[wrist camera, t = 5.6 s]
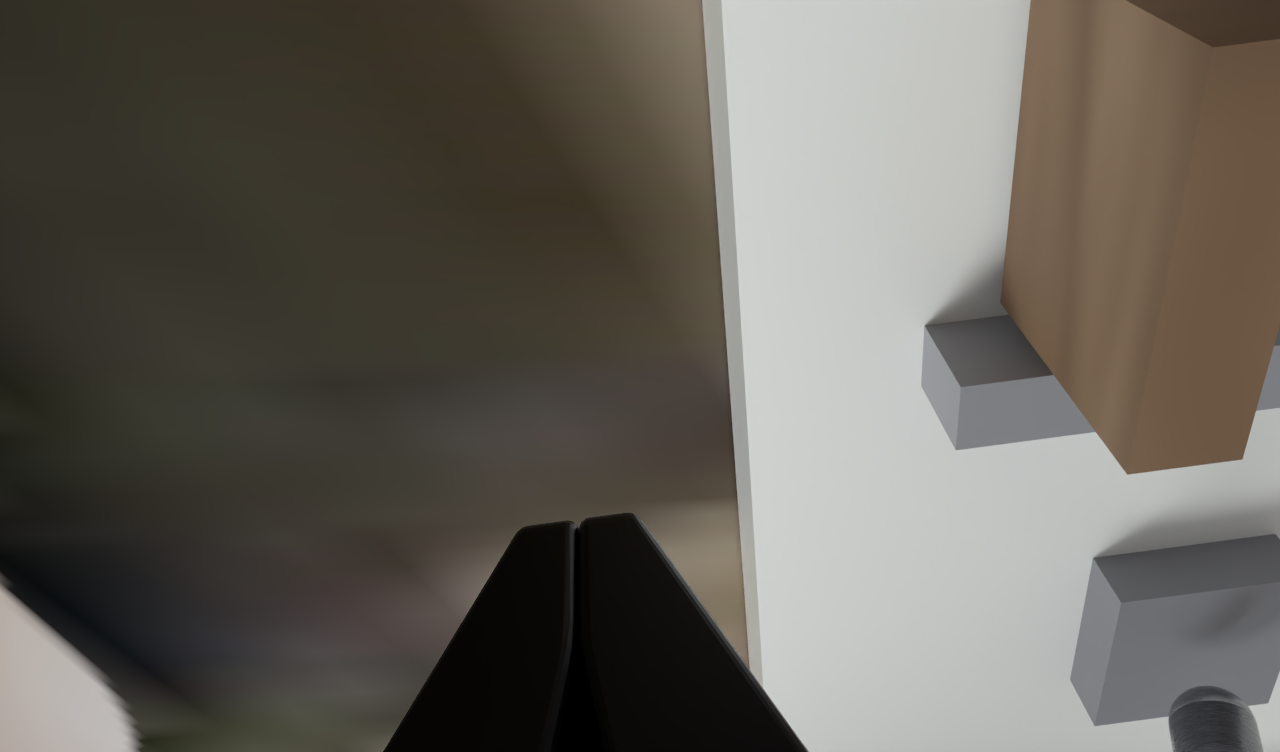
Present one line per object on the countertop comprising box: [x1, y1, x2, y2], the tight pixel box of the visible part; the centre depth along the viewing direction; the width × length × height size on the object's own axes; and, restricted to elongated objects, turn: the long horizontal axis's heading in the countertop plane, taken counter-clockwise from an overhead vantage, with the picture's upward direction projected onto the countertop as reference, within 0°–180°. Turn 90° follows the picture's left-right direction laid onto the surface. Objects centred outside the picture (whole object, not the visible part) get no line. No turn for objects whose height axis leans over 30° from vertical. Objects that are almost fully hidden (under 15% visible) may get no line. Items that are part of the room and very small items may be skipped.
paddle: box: [1000, 0, 1280, 475], centre depth 11 cm, size 1×4×4 cm, turn 6°
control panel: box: [702, 0, 1280, 752], centre depth 17 cm, size 14×25×4 cm, turn 6°
